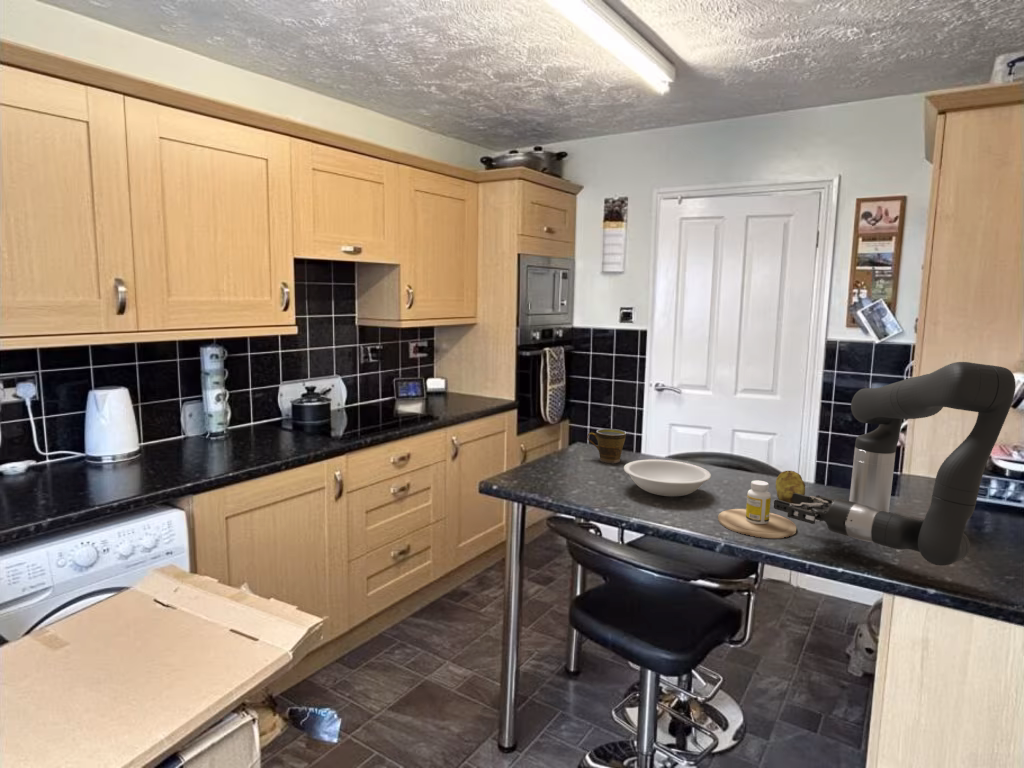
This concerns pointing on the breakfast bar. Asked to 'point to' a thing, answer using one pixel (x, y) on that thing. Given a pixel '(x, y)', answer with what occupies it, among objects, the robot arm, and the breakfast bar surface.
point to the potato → (789, 485)
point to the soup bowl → (667, 476)
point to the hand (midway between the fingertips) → (783, 500)
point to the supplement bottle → (758, 503)
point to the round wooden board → (772, 529)
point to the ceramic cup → (609, 444)
